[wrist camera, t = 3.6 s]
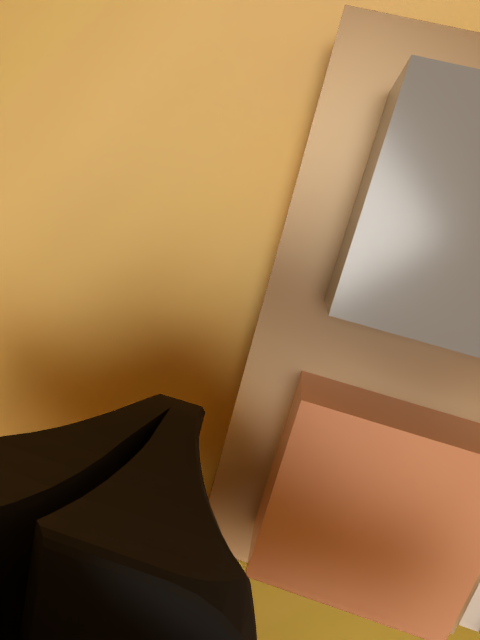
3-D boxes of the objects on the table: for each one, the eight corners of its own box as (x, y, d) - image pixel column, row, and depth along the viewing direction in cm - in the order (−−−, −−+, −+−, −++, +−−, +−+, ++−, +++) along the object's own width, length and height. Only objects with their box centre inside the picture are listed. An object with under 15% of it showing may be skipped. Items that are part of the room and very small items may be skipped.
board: (432, 577, 14) (453, 634, 12) (210, 503, 15) (196, 545, 13) (647, 112, 10) (729, 84, 8) (337, 45, 11) (344, 4, 9)
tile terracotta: (420, 577, 12) (443, 645, 10) (254, 521, 12) (245, 576, 10) (489, 425, 10) (531, 469, 8) (301, 370, 11) (301, 400, 9)
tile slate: (521, 355, 10) (573, 384, 8) (323, 300, 10) (327, 315, 8) (617, 143, 9) (707, 118, 7) (389, 91, 9) (411, 54, 7)
